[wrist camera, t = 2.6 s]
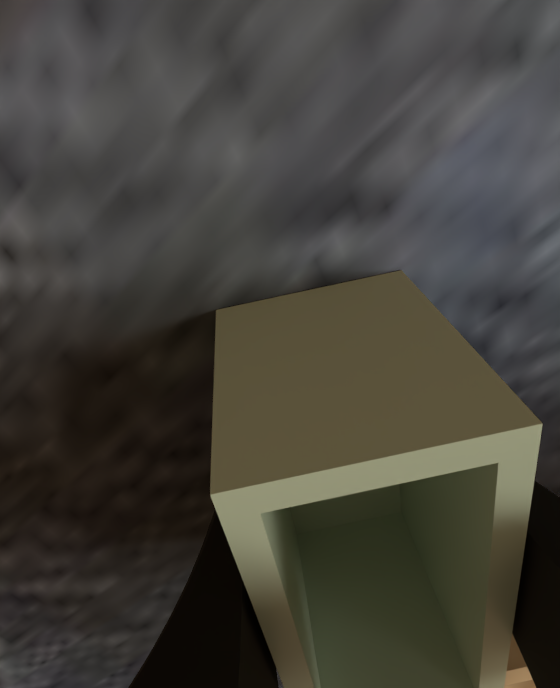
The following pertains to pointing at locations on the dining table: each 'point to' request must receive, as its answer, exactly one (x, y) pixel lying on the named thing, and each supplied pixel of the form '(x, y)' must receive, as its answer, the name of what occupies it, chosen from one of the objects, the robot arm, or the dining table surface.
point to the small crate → (371, 487)
